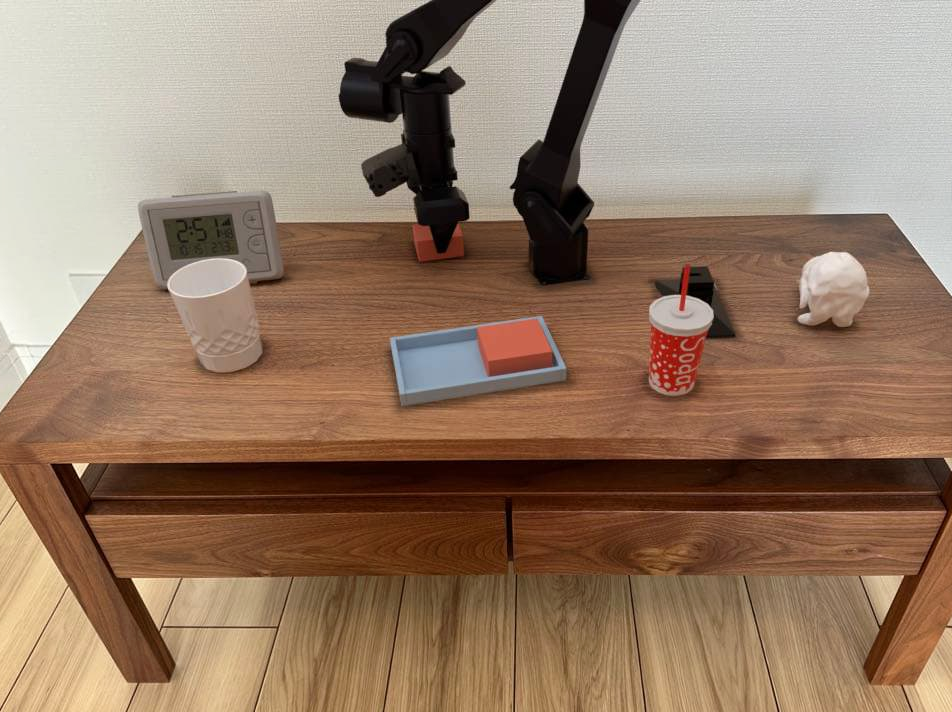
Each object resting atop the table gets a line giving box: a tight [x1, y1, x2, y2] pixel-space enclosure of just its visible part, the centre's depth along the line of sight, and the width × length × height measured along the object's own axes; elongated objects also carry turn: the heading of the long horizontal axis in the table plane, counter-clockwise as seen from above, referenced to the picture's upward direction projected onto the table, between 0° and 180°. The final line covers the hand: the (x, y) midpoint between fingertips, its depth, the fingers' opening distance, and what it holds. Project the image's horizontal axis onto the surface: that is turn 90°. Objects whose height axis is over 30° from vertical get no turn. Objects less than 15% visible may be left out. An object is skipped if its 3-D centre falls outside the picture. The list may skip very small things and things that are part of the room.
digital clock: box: [137, 190, 285, 290], centre depth 95 cm, size 16×9×11 cm, turn 86°
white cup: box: [167, 258, 263, 374], centre depth 81 cm, size 8×8×10 cm
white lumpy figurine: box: [796, 251, 870, 328], centre depth 86 cm, size 6×8×12 cm
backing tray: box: [389, 315, 568, 407], centre depth 81 cm, size 17×10×2 cm, turn 103°
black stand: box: [654, 265, 737, 339], centre depth 88 cm, size 12×7×5 cm, turn 1°
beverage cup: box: [648, 263, 714, 397], centre depth 74 cm, size 6×6×14 cm
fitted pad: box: [477, 319, 552, 377], centre depth 81 cm, size 7×6×2 cm
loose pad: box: [411, 223, 465, 263], centre depth 101 cm, size 6×5×3 cm
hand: (438, 243), depth 101 cm, fingers closed on loose pad, 5 cm apart
